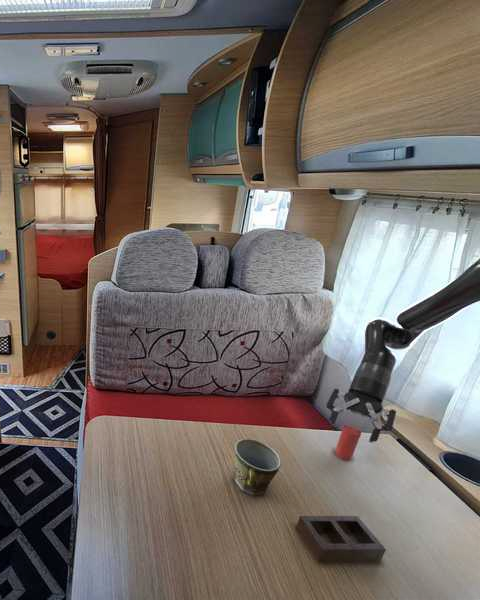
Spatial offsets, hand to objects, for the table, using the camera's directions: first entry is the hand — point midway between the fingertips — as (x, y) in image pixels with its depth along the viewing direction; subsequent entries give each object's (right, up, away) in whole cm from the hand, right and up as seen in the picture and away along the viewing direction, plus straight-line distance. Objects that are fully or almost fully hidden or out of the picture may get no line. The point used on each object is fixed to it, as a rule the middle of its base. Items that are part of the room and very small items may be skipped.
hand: (350, 433), depth 90 cm
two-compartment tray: (-21, -15, -21) cm, 33 cm away
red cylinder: (-1, -7, +2) cm, 7 cm away
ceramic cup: (-33, -11, -8) cm, 35 cm away
